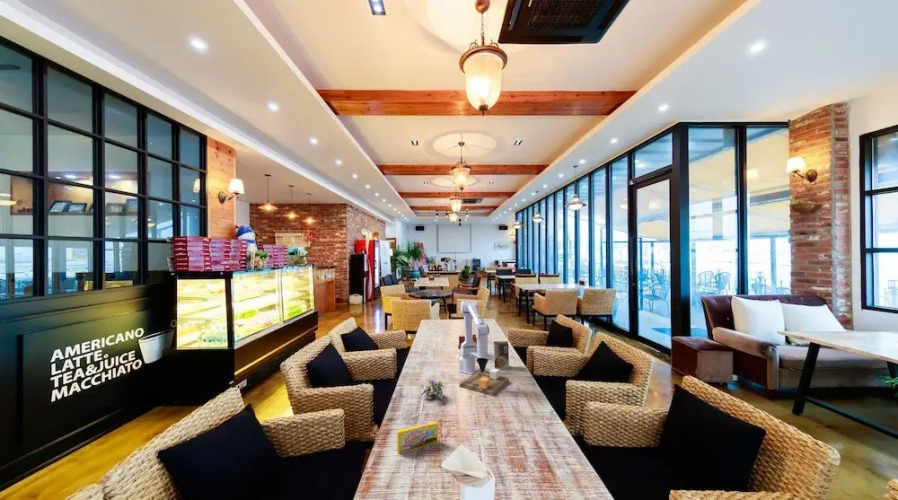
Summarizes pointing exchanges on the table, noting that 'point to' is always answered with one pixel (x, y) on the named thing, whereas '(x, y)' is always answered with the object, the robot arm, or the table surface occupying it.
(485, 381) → the orange fader
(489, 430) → the table surface
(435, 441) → the candy box
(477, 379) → the console
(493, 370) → the white fader
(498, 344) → the coffee box
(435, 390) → the passion flower
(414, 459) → the table surface
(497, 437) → the table surface
